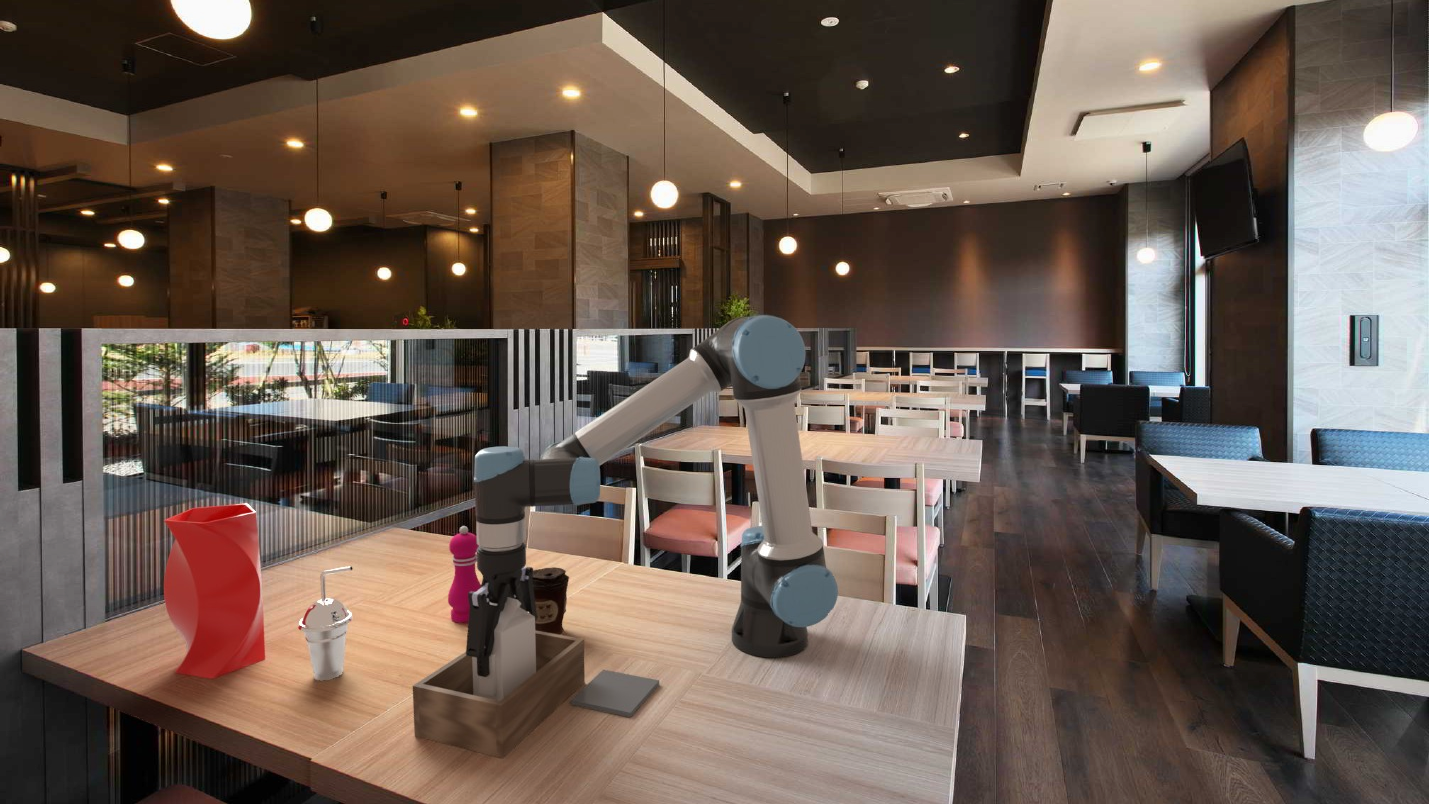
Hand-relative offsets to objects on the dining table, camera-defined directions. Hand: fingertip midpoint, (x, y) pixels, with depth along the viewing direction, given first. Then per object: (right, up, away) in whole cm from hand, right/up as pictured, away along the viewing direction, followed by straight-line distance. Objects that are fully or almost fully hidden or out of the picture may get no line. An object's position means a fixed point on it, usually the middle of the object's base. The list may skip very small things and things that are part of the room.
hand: (504, 679), depth 113 cm
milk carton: (0, -5, 0) cm, 5 cm away
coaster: (+18, -4, +5) cm, 19 cm away
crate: (0, -5, 0) cm, 5 cm away
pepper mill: (-19, -1, +36) cm, 41 cm away
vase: (-57, -3, +17) cm, 59 cm away
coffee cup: (0, -2, +28) cm, 28 cm away
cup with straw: (-35, -4, +11) cm, 36 cm away
